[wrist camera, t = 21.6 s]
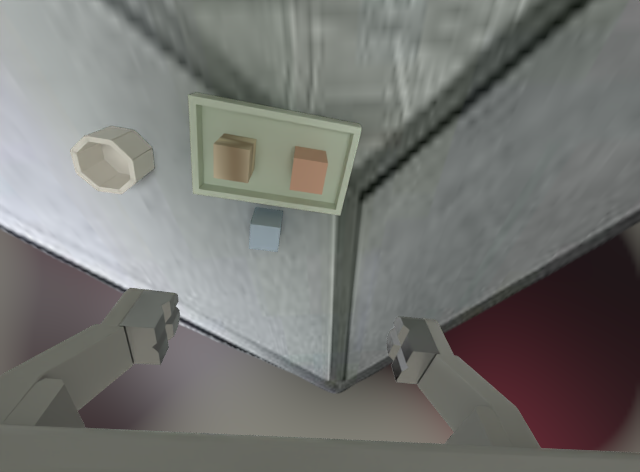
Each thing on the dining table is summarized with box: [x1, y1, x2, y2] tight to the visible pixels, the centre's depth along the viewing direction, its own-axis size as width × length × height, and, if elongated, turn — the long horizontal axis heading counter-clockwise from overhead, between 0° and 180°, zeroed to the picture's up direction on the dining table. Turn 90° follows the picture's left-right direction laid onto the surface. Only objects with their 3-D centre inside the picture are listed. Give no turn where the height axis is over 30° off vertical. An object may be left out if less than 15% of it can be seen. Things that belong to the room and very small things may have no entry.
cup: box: [70, 126, 155, 194], centre depth 36 cm, size 7×7×5 cm
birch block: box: [213, 133, 256, 183], centre depth 36 cm, size 4×4×5 cm
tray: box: [188, 92, 362, 215], centre depth 38 cm, size 20×12×3 cm, turn 79°
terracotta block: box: [290, 146, 328, 195], centre depth 37 cm, size 4×4×5 cm
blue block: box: [249, 207, 283, 252], centre depth 42 cm, size 4×4×5 cm
